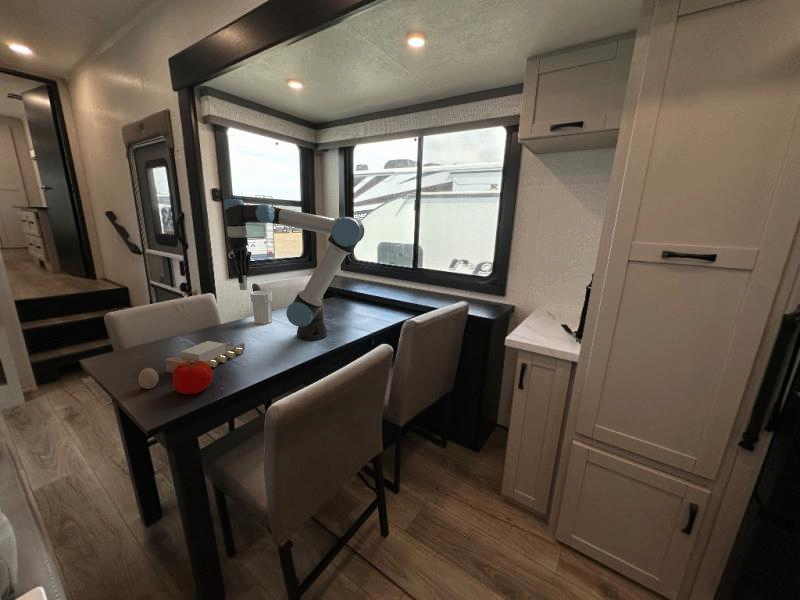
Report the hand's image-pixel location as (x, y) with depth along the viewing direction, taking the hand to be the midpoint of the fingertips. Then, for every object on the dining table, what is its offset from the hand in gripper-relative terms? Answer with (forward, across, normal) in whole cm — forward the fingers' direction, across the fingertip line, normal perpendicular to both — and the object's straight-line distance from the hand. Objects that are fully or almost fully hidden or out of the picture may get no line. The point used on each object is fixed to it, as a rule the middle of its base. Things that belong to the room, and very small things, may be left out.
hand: (243, 289), depth 143 cm
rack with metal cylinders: (+26, +21, -1) cm, 33 cm away
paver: (+23, +24, -1) cm, 33 cm away
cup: (+26, -29, -14) cm, 41 cm away
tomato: (+26, +42, +11) cm, 50 cm away
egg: (+26, +45, -4) cm, 52 cm away
